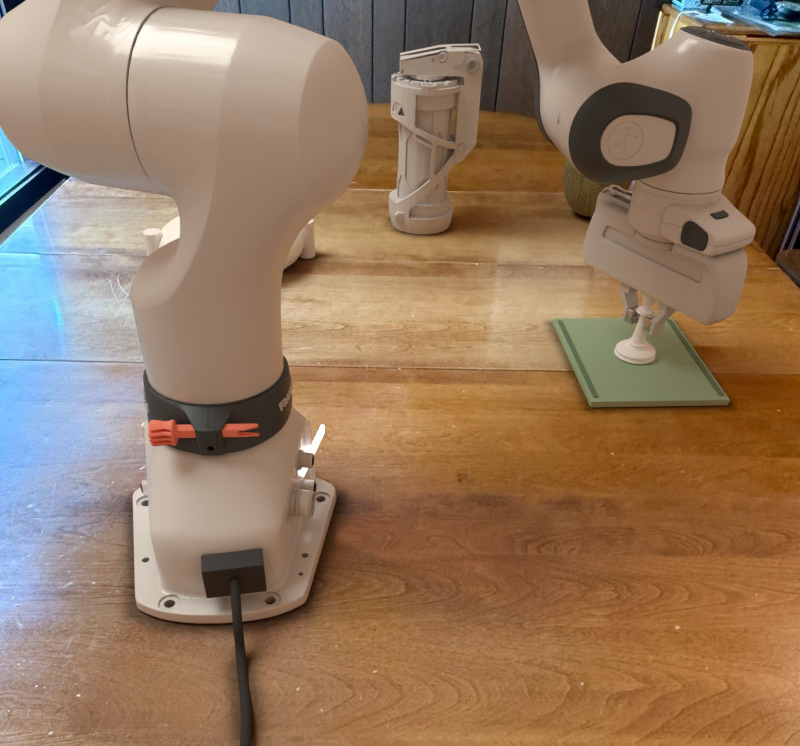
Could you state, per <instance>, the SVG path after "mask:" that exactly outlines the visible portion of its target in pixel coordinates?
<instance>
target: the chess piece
mask: <svg viewBox="0 0 800 746" xmlns="http://www.w3.org/2000/svg"><path fill="white" fill-rule="evenodd" d="M640 293H641V295H640V296H641V303H642V305H639V307H638V308H637V309H636V312H637V313H638V314H640V317H639V320H638V323H637V325H636V328H635V331H634V333H633V335H632V337H631V338H629V339H626V340H622V341H620V342H618V343H617V345H616V348H615V349H614V353H615V355H616V356H617V357H618V358H619V359H621V360H623V361H625V362H628V363H633V364H647V363H650V362H652V361H653V360H654V359H655V354H656V350H655V348H654V347H653V346H652V345H650V344H649V343H647V341H646V332H644V331H643V328H644V327H645V320H646V318H649V317H652V316H655V315H656V312H655V309H654V308H653V307H652V306H653V305H654V304H655V302H656V300H655V299H653V298H651V297H649V296H647V295H645V294H643V293H642V292H640Z"/></svg>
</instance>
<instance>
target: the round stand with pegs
mask: <svg viewBox="0 0 800 746" xmlns="http://www.w3.org/2000/svg"><path fill="white" fill-rule="evenodd" d="M142 237H143V241H144V242H143V243H144V246H145V251H146V258H147V257H148V256H149V255H150V254H151V253H153V252H154V251H155V250H157V249H159V248H160V247H162V246H164V245H166V244H168V243H169V242H171V241H173V240H176V239H178V238H180V217H179V215H178V216H176V217H174V218H173V219H170V220H169V221H168V222H167V223H166V224H165V225H164V226H163V227H162V228H161V229H159V228H156V227H155V228H154V227H152V228H147V229H144V230H143V231H142ZM315 238H316V237H315V221H314V218H313V219H311V220H310V221H309V223H308V224H307V225H306V226H305V227H304V228H303V229H302V231H301V232H300V233H299V235H298V236H297V238H296V240H295V241H294V243H293V245H292V247H291V249H290V251H289V254H288V256H287V259H286V263H285V266H284V270H285V269H286V268H288V267H290V266H291V265H293V264H294V263H295V262H296V261H297V260H298V259H299V258H301V259H303V260H304V259H305V260H309V259H310V260H311V259H313V258H315V257H316V241H315Z"/></svg>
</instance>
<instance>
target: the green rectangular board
mask: <svg viewBox="0 0 800 746" xmlns="http://www.w3.org/2000/svg"><path fill="white" fill-rule="evenodd" d="M551 324H552V326H553V328H554V331H555V333H556V335H557V338H558V339H559V341H560V344H561V345H562V348H563V350H564V352H565V354H566V357H567V359H568V361H569V363H570V365H571V368H572V370H573V372H574V374H575V376H576V379H577V381H578V383H579V385H580V388H581V390H582V392H583V394H584V396H585V398H586V400H587V401H586V402H587V403H588V405H589V407H590V408H641V407H642V408H643V407H645V408H646V407H648V408H649V407H650V408H651V407H700V406H701V407H702V406H703V407H704V406H706V407H707V406H711V407H712V406H729V404H730V401H731V399H730V397H729V396H728V395H727V393H726V392H725V390H724V389H723V388H722V386H721V385H720V383H719V382H718V380H717V379H716V377H715V376H714V375H713V373H712V372H711V371H710V369H709V368H708V366H707V365H706V364H705V362H704V361H703V359H702V358H701V357H700V354H699V353H698V352H697V351H696V349H695V348H694V346H693V345H692V344H691V342H690V341H689V339H688V338H687V337H686V336H685V334H684V332H683V331H682V330H681V328H680V326H679V325H678V324H677V322H676V321H675V320H674V318H673V317H669V318H668V319H667V320H666V321H665V324H664V328H663V331H662V333H661V334H660V335H657V336H654V337H653V336H651V335H649V334H648V333H646V341H647V343H649V344H650V345H652V346H653V347H654V348H655V350H656V354H655V359H654V360H653V361H652V362H650V363H647V364H633V363H628V362H625V361H623V360H621V359H619V358H618V357H617V356H616V355H615V353H614V349H615V348H616V345H617V343H618V342H620V341H622V340H626V339H629V338H631V337H632V335H633V333H634V331H635V328H636V325H637V323H634V324H632V325H631V324H629V323H627V322H625V321H624V320H622V317H568V318H567V317H562V318H561V317H560V318H559V317H556V318H555V317H553V318H552V323H551Z"/></svg>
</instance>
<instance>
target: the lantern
mask: <svg viewBox="0 0 800 746" xmlns="http://www.w3.org/2000/svg"><path fill="white" fill-rule="evenodd" d="M474 46H475V47H478V48H475V47H474ZM481 52H482V48H481V46H480V43H447V44H437V45H432V46H427V47H423V48H418V49H413V50H408V51H403V52H400V53H399V71H397V72H394V73H392V74H391V76H390V77H391V78H390V117H391V118H392V119H393V120H395V121H397V123H398V124H397V125H398V126H397V127H398V158H397V174H396V175H397V176H396V188H394V189H393V190H391V191H390V192H389V194H388V215H389V219H390V223H391V226H392V227H394V228H395V229H396V230H398V231H400V232H402V233H406V234H412V235H434V234H439V233H442V232H444V231H445V230H448V228H449V227H450V226H451V222H452V219H453V214H454V207H453V205H452V204H451V195H450V193H448V184H449V180H448V179H449V177H448V175H449V173H450V172H451V170H452V169H453V167H454V166H455V165H457V164H459V163H461V162H463V161H464V160H465V158H466V157H467V156H468V155H469V154H470V153H471V151H472V150H473V149H474V148H475V146H476V145H477V138H478V126H479V118H480V117H479V116H480V106H481V105H480V104H481V95H482V94H481V91H482V83H483V71H484V69H483V67H484V59H483V57H482V54H481ZM453 108H455V110H454V109H453ZM453 110H454V123H453V132H452V122H453Z"/></svg>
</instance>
